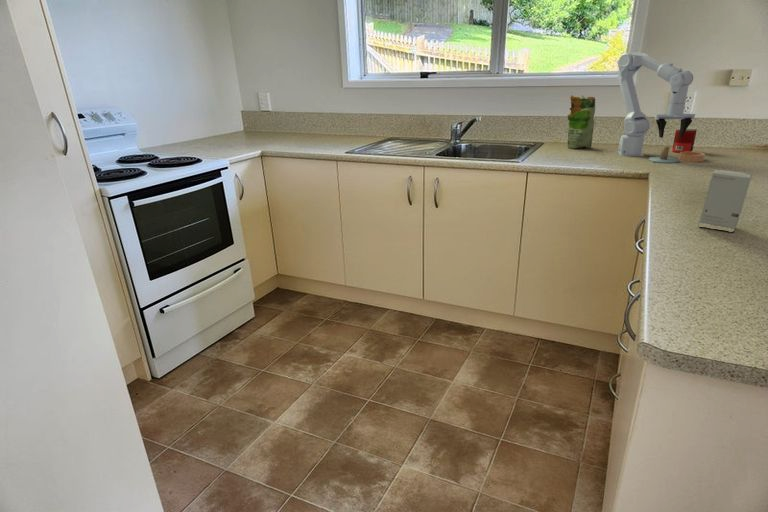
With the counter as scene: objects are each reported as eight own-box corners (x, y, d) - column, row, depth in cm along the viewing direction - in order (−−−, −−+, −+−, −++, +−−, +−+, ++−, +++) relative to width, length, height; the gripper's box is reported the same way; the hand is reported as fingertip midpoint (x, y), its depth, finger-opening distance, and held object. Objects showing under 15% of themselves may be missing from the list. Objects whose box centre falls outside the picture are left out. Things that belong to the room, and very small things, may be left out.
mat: (653, 163, 201) (653, 162, 201) (647, 158, 210) (647, 158, 210) (680, 163, 199) (680, 162, 199) (672, 159, 208) (672, 158, 208)
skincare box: (697, 227, 129) (710, 172, 123) (702, 221, 133) (713, 168, 128) (735, 233, 124) (750, 176, 118) (738, 227, 128) (752, 172, 123)
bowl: (682, 162, 201) (683, 155, 200) (675, 158, 209) (676, 151, 208) (706, 162, 199) (708, 155, 198) (698, 158, 207) (700, 151, 206)
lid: (652, 163, 201) (655, 149, 198) (645, 157, 210) (648, 144, 208) (682, 163, 198) (684, 149, 196) (673, 157, 208) (676, 144, 206)
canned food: (694, 154, 215) (699, 129, 211) (675, 154, 217) (679, 129, 213) (688, 151, 222) (693, 126, 218) (669, 151, 224) (673, 126, 220)
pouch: (592, 149, 233) (599, 95, 224) (566, 149, 236) (571, 96, 227) (589, 145, 243) (595, 93, 234) (564, 145, 246) (569, 94, 237)
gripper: (661, 104, 194) (655, 139, 199) (700, 103, 191) (693, 138, 197) (655, 102, 200) (649, 136, 205) (693, 101, 198) (686, 135, 203)
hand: (670, 137), depth 201 cm, fingers open, 7 cm apart
